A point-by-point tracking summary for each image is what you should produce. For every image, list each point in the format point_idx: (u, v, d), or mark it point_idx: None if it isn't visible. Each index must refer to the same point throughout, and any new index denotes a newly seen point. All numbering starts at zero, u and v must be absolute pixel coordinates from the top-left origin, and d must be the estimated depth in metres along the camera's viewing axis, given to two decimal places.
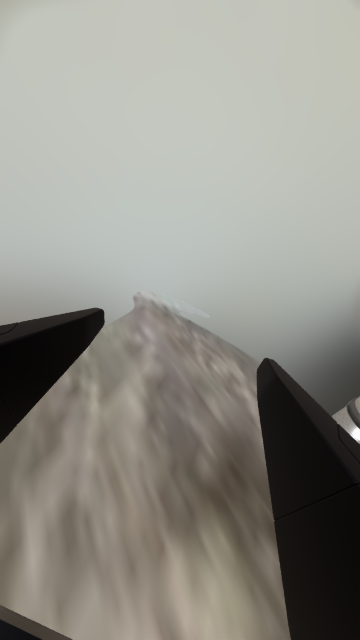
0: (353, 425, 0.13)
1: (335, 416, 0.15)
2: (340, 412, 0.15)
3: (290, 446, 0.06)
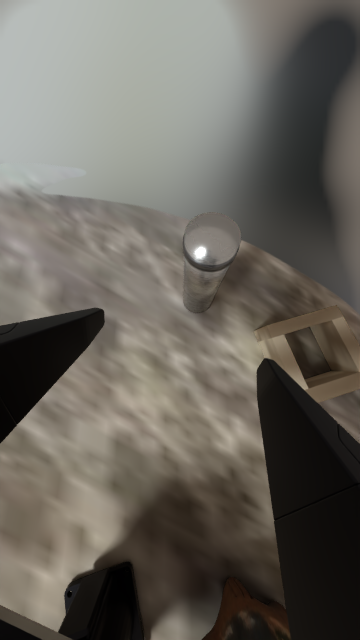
0: (186, 260, 0.13)
1: None
2: None
3: (290, 446, 0.06)
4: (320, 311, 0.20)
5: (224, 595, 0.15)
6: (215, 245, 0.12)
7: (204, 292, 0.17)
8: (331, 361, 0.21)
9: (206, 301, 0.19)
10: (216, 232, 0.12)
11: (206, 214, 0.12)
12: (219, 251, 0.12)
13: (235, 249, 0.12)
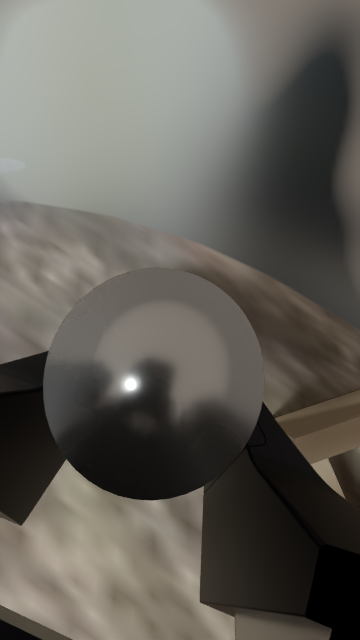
0: None
1: None
2: None
3: None
4: None
5: None
6: (160, 417, 0.03)
7: None
8: None
9: None
10: (168, 352, 0.03)
11: (139, 275, 0.04)
12: (175, 449, 0.03)
13: (242, 439, 0.03)
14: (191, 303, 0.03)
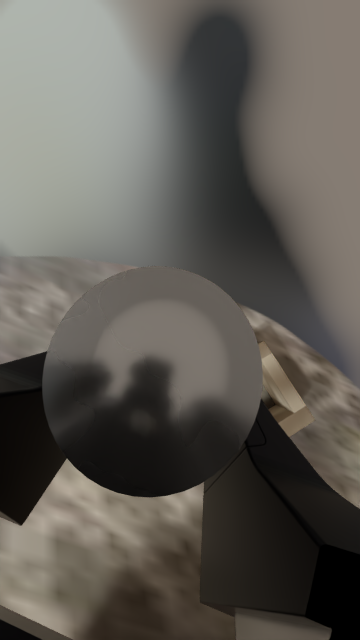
0: None
1: None
2: None
3: None
4: None
5: None
6: (159, 414, 0.03)
7: None
8: (272, 396, 0.20)
9: None
10: (167, 350, 0.03)
11: (138, 274, 0.04)
12: (173, 447, 0.03)
13: (241, 436, 0.03)
14: (190, 301, 0.03)
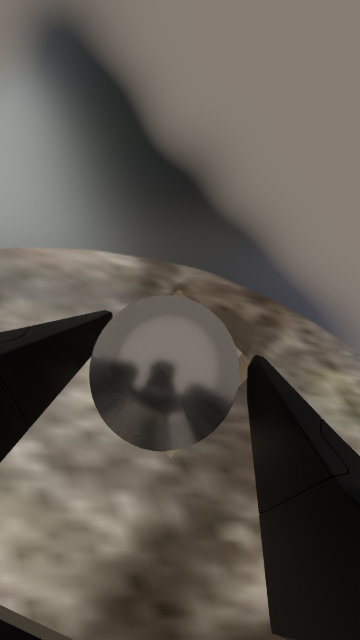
0: None
1: None
2: None
3: (275, 441, 0.06)
4: None
5: None
6: (169, 399, 0.04)
7: None
8: None
9: None
10: (174, 355, 0.05)
11: (153, 300, 0.05)
12: (179, 420, 0.04)
13: (223, 413, 0.04)
14: (190, 321, 0.05)
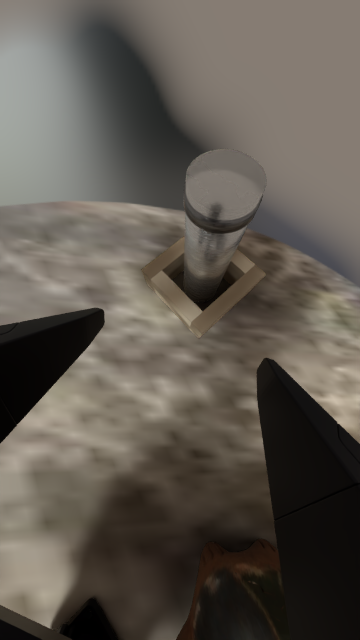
0: (188, 219, 0.10)
1: None
2: None
3: (290, 446, 0.06)
4: None
5: (199, 568, 0.13)
6: (230, 190, 0.08)
7: (210, 270, 0.13)
8: (229, 279, 0.20)
9: (212, 285, 0.16)
10: (230, 174, 0.08)
11: (216, 151, 0.09)
12: (236, 198, 0.08)
13: (259, 195, 0.08)
14: (237, 160, 0.09)
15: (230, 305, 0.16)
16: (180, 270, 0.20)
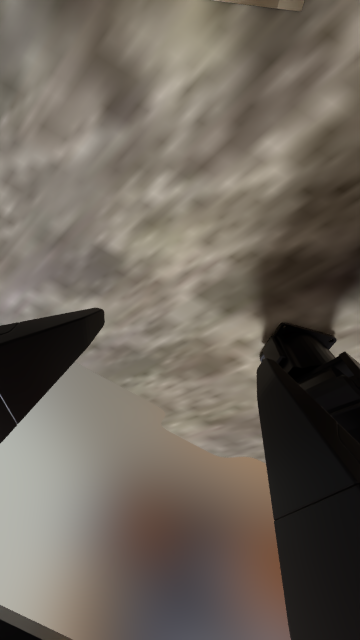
0: None
1: None
2: None
3: (290, 446, 0.06)
4: None
5: None
6: None
7: None
8: None
9: None
10: None
11: None
12: None
13: None
14: None
15: None
16: None
